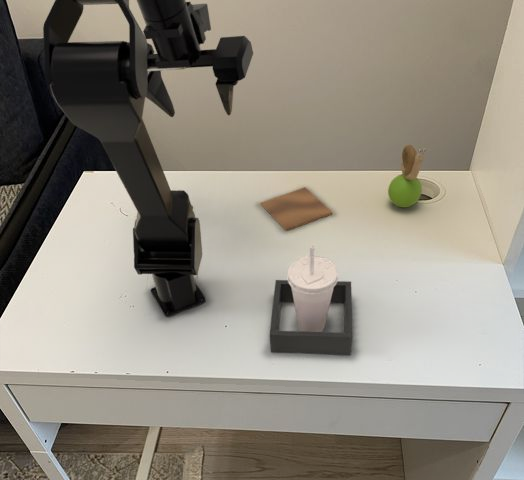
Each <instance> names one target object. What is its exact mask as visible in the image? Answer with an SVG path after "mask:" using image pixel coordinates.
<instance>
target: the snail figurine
mask: <svg viewBox="0 0 524 480" xmlns="http://www.w3.org/2000/svg"><path fill="white" fill-rule="evenodd" d="M426 150H427V149H426V148H425V147H423V148H419V149H417V150H416V148H415V147H414V146H413V145H412V144H407V145H405V146H404V147H403V149H402V153H401V160H402V161H401V165H400V169H401V174H398V175H397V176H395V177H394V178H393V179H392V180H391V181H390V183H389V185H388V188H387V191H388V192H387V194H388V198H389V200H390V201H391V203H393V205H394V206H397V207H400V208H408V207H411V206H413V205H415V204H416V203H417V202H418V201H419V199H420V198H421V196H422V191H423V187H422V183H421V181H420V179H419V178H418V175H419V173H420V171H421V168H422V164H423V161H424V154H425V152H426ZM417 152H418V153H417Z"/></svg>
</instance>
